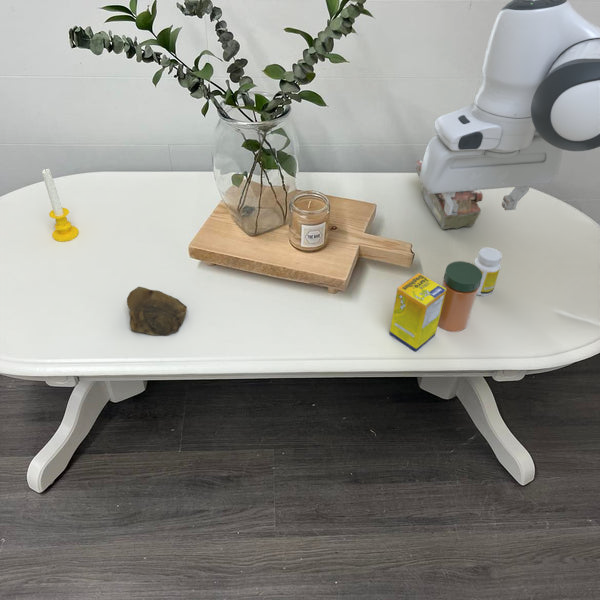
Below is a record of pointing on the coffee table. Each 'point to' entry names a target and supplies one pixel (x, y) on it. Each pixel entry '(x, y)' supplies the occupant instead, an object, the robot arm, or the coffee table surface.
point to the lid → (463, 276)
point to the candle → (58, 212)
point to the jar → (456, 308)
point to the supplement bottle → (488, 269)
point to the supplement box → (417, 311)
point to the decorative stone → (154, 312)
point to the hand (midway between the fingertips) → (479, 210)
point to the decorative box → (463, 198)
